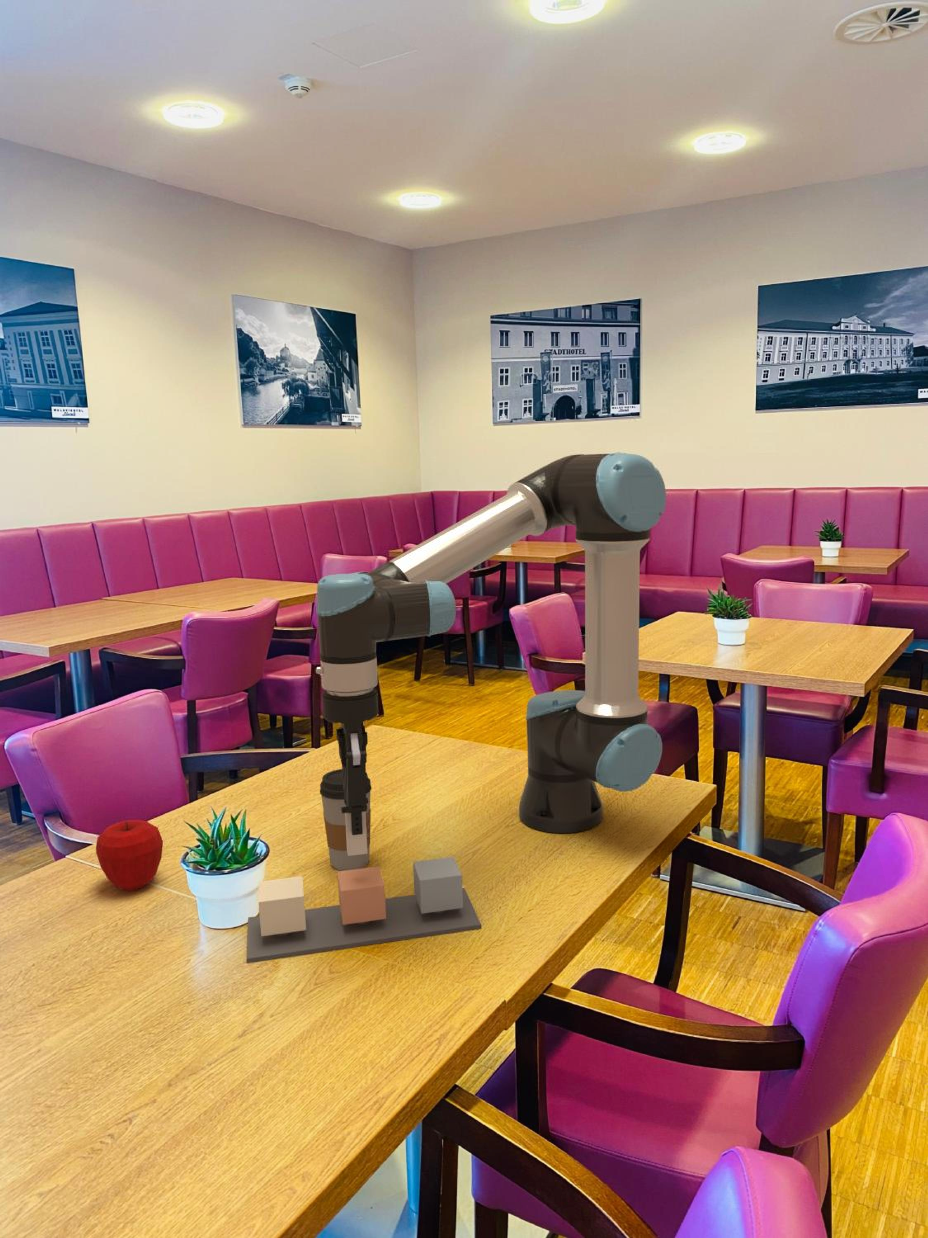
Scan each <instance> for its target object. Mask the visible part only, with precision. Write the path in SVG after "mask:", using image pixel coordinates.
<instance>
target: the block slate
mask: <svg viewBox="0 0 928 1238" xmlns="http://www.w3.org/2000/svg"><path fill="white" fill-rule="evenodd" d="M412 864H413V865H412V869H413V870H412V871H413V890H414V891H413V892H414V895H415V896H416V899H417V902H418V905H419V908H420V911H421V914H423V913H430V912H437V911H444V910H451V909H458V908H463V890H462V888H463V874H462V872H461V870H460V868H459V865H458V863H457V861H456V860H455V857H454V856H448V857H440V858H433V859H424V860H417V861H413V862H412Z"/></svg>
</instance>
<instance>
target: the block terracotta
mask: <svg viewBox="0 0 928 1238" xmlns="http://www.w3.org/2000/svg"><path fill="white" fill-rule="evenodd" d="M336 874H337V884H338V885H337V888H338V902H339V903H338V905H340V911H341V917H342V923H343V925H345V924H352V923H359V922H366V921H373V920H380V919H386V907H385V899H386V892H385V891H386V890H385V883H384V879H383V875H382V871H381V868H380V866H371V867H363V868H361V869H354V870H346V871H339V870H337V873H336Z"/></svg>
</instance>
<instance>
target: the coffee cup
mask: <svg viewBox="0 0 928 1238" xmlns="http://www.w3.org/2000/svg"><path fill="white" fill-rule="evenodd" d="M319 788H320V789H319V794H320V796H321V802H322V808H323V813H322V814H323V820H324V827H325V829H324V830H325V835H326V842H327V848H328V854H329V862H330V864H331V866H332V867H333V869H335V870H337V871H346V870H354V869H362V868H366V866H367V865H368V863H369V861H370V854H371V853H370V848H371V847H370V846H371V817H372V816H371V812H372V810H371V792H372V783H371V779H370V778H369V775H368V773H367V772H366V798H368V804H366V805H367V811H366V833H367V854H360V855H351V856H348V854H347V840H346V820H345V813H342V811H341V807H346V805H345V803H344V800H345V797H344V795H343V774H342V768H340V769H334V770H331V771H329V772H327V773H325V774H323V775H322V778H321V782H320V783H319Z"/></svg>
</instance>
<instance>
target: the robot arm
mask: <svg viewBox="0 0 928 1238" xmlns="http://www.w3.org/2000/svg"><path fill="white" fill-rule="evenodd" d="M666 505H667V491H666V485H665V482H664V479H663V475H662V473H661V472H660V471H659V469H658V468H657V467H655V465H654V464H653V461H650V460H649V459H648V458H646V457H644V456H642V455H639V454H634V453H626V452H619V451H618V452H613V453H594V454H593V453H591V454H590V453H589V454H583V453H582V454H570V455H567V456H563V457H561V458H558V459H556V460H553V461H551V462H550V463H548V464H547V465H546V464H545V465H544V466H542V467H540V468H538V469H537V470H534V472H531V473H529V474H528V475H526V476H524V477H522V478H520V479H519V480H517V481H515V482H513V484H510V485H509V486H508V488H507V491H506V494H505V495H503V496H502V497H499V498H498V499H497V500H494V501H493V502H492V503H491V502H490V503H489V504H488V505H486V506H484V507H482V508H481V509H479V510H477V511H476V512H474V513H472V514H470V515H468V516H466V517H465V518H462V519H461V520H460V521H458V522H456V523H454V524H453V525H450V526H449V527H447V528H445V529H443V530H442V531H440V532H438V533H436V534H435V535H433V536H432V537H429V538H427V539H426V540H424V541H422V542H420V543H419V544H417V545H416V546H414V547H412V548H410V549H409V550H406V551H405V552H403V553H402V554H399V555H398V556H396V557H394V558H392V559H391V560H389V561H387V562H385V563H384V564H382V565H379V566H378V567H376V568H374V569H372V570H371V571H369V572H368V571H364V570H363V571H358V572H351V573H337V574H330V575H325V576H323V577H321V578H320V580H318V582H317V586H316V588H317V589H316V590H317V591H316V609H315V612H316V613H315V614H316V617H317V618H316V619H317V628H318V631H317V632H318V643H319V660H320V665H321V666H317V667H316V668H315V673H316V674H318V675H321V677H320V678H321V679H320V681H321V688H322V689H323V692H322V694H321V706H322V708H321V710H322V717H323V719H325V720H326V721H327V722H330V723H333V724H339V723H340V726H339V727H338V728H336V730H335V735H336V739H337V745H338V755H339V759H340V762H341V769H342V774H343V795H344V797H345V800H344V803H345V805H346V807H341V811H342V813H345V820H346V840H347V854H348V856H351V855H360V854H367V833H366V811H367V805H366V804H368V798H366V773H367V767H366V766H367V760H368V758H367V757H368V754H367V753H368V752H367V745H368V742H369V740H368V738H369V737H368V732H367V731H366V727H365V726H362V724H363V723H364V722H367V721H368V722H369V721H371V720H373V719H375V718H376V717H377V716H378V715H379V696H378V695H379V693H378V690H377V689H376V688H375V687H377V685H378V664H377V663H378V662H377V661H378V660H377V659H378V658H377V643H379V642H381V643H383V642H387V641H388V642H389V641H395V640H404V639H412V638H420V637H426V636H427V637H431V636H433V635H437V634H442V633H446V632H448V631H449V630H450V629H451V628H452V627H453V625H454V624H455V623H454V622H455V619H456V614H457V612H456V610H457V609H456V604H457V603H456V600H455V596H454V594H453V591H452V589H451V588H450V587H449V585H448V583H450V582H451V581H454V580H455V579H456V578H459V577H460V576H461V575H464V574H465V573H466V572H468V571H470V570H471V569H473V568H475V567H476V566H479V565H480V564H481V563H483V562H485V561H487V560H488V559H490V558H492V557H494V556H495V555H497V554H498V553H500V552H501V551H504V550H505V549H507V548H509V547H510V546H513V544H515V543H517V542H519V541H521V540H523V539H524V538H526V537H528V536H529V535H531V536H534V537H538V536H541V535H543V534H544V533H546V532H547V531H549V530H553V529H556V528H560V527H566V526H575V542H576V543H577V544H578V545H579V546H580V547H581V548H582V549H583V550H584V567H585V569H584V576H585V577H584V578H585V580H584V589H585V591H584V592H585V593H584V596H585V597H584V599H585V600H584V601H585V603H584V604H585V606H584V607H585V608H584V611H585V612H584V613H585V614H584V618H585V619H584V620H585V622H584V625H585V626H584V627H585V629H584V630H585V631H584V632H585V633H584V637H585V638H584V641H585V642H584V644H585V645H584V647H585V648H584V653H585V654H584V655H585V657H584V658H585V660H584V661H585V665H584V666H585V668H584V670H585V675H584V677H585V679H584V681H585V683H584V684H585V685H584V686H585V688H584V690H579V689H578V690H575V689H574V690H570V689H568V690H566V689H565V690H556V691H555V690H554V691H548V692H547V691H546V692H543V693H538V694H537V695H534V696H532V697H531V698H529V700H528V701H527V706H526V716H525V720H526V740H527V741H526V743H527V778H526V781H525V784H524V787H523V791H522V794H521V797H520V800H519V803H518V817H519V820H520V821H521V822H522V824H523V825H525V826H527V827H529V828H532V829H534V830H536V831H541V832H545V833H546V832H547V833H553V834H554V833H555V834H561V833H562V834H567V833H568V834H569V833H570V834H571V833H578V832H583V831H587V830H589V829H592V828H595V827H597V826H598V825H599V824H600V823H602V820H603V817H604V815H603V810H604V808H603V807H604V806H603V802H602V799H601V796H600V793H599V790H598V788H597V787H598V786H597V784H598V785H600V786H601V787H603V788H606V789H612V790H613V791H614V790H615V791H617V792H623V793H624V792H625V793H626V792H632V791H634V790H637V789H639V788H640V787H642V786H643V785H645V784H646V783H647V782H648V781H649V779H651V777H652V775H654V773H656V770H657V769H658V766H659V764H660V761H661V759H662V758H661V757H662V754H663V742H662V737H661V735H660V733H658V732H657V730H656V729H655V728H654V727H653V726H652V725H650V724H648V716H649V715H648V711H649V710H648V704H647V703H646V702H644V700H642V698H641V697H640V695H639V667H640V666H639V664H640V663H639V661H640V659H639V653H640V650H639V649H640V571H641V570H640V559H641V557H640V556H641V554H640V553H641V549H642V548H643V547H645V545H646V544H647V543H648V542H649V541H650V538H651V537H650V535H651V534H650V533H651V532H650V529H651V528H654V527H655V526H656V525H657V524H658V522H659V521H660V520H661V516H662V515H663V514H664V513H665V512H664V511H665V508H666ZM596 783H597V784H596Z"/></svg>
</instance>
